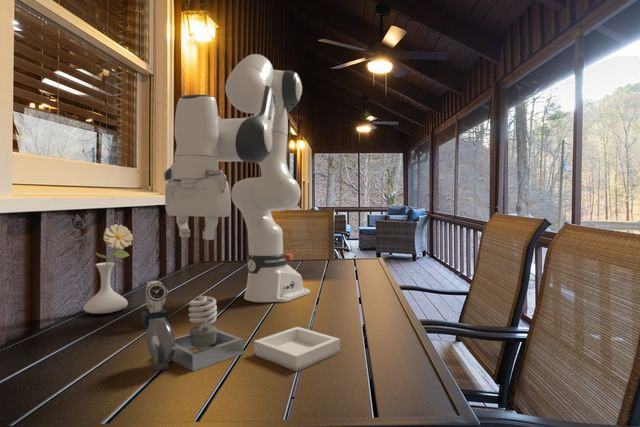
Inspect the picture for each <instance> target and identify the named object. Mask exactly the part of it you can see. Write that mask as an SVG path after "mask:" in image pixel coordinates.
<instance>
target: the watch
mask: <svg viewBox="0 0 640 427" xmlns="http://www.w3.org/2000/svg"><path fill="white" fill-rule="evenodd" d="M168 294H169V290H168V288H167V287H166V286H165V285H164V284H163V283H162V281H159V280H150V281H147V282H146V286H145V303H146V307H147V309H148V310H146V311H145V310H144V311H141V312H140V325H141V326H142V327H144V328H145V329H147V328H146V327H148V325H149V323H150V322H151V321H153V320H157V319H161V318H163V319H166V320H167V321H168V322H169V312H168V310H166V309H165V308H163V306H164V304H165V302H166V297H167V295H168Z"/></svg>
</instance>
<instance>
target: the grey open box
mask: <svg viewBox="0 0 640 427" xmlns="http://www.w3.org/2000/svg"><path fill="white" fill-rule="evenodd" d="M216 329H217V336H216V342H215V343H214V344H213V345H214V346H213V345H212V346H210V348H207V349H204V350H200V351H197V350H196V351H193V349H195V348H196V349H197V347H194V346H192V345H191V343H190V333H187V334H184V335H183V334H182V335H179V336H177V337H175V334H174V331H173V328H172V326H171V324H170V323H169V320H168V321H167V320H166V319H163V318H161V319H157V320H153V321H151V322H150V323H149V325H148V328H146V343H147V344H146V345H147V348H148V353H149V355H150V357H151V359H152V365H153V367H152V368H154V370H156V371H157V372H161V371H165V370H167V369H169V362H170V361H173V362H174V363H176V364H178V365H180V366H182V367H183V368H186V369H188V370H190V371H192V372H195V371H197V370H201V369H203V368H206V367H209V366H212V365H214V364H218V363H221V362H224V361H226V360H229V359H232V358H236V357H238V356H241V355H244V354H245V352H244V350H245V347H244V345H245V344H244V343H245V342H244V340H245V339H244V338H241V337H239V336H236V335H233V334H230V333H228V332H227V331H223V330H220V329H218V328H216ZM192 348H193V349H192ZM189 349H190V350H189Z"/></svg>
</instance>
